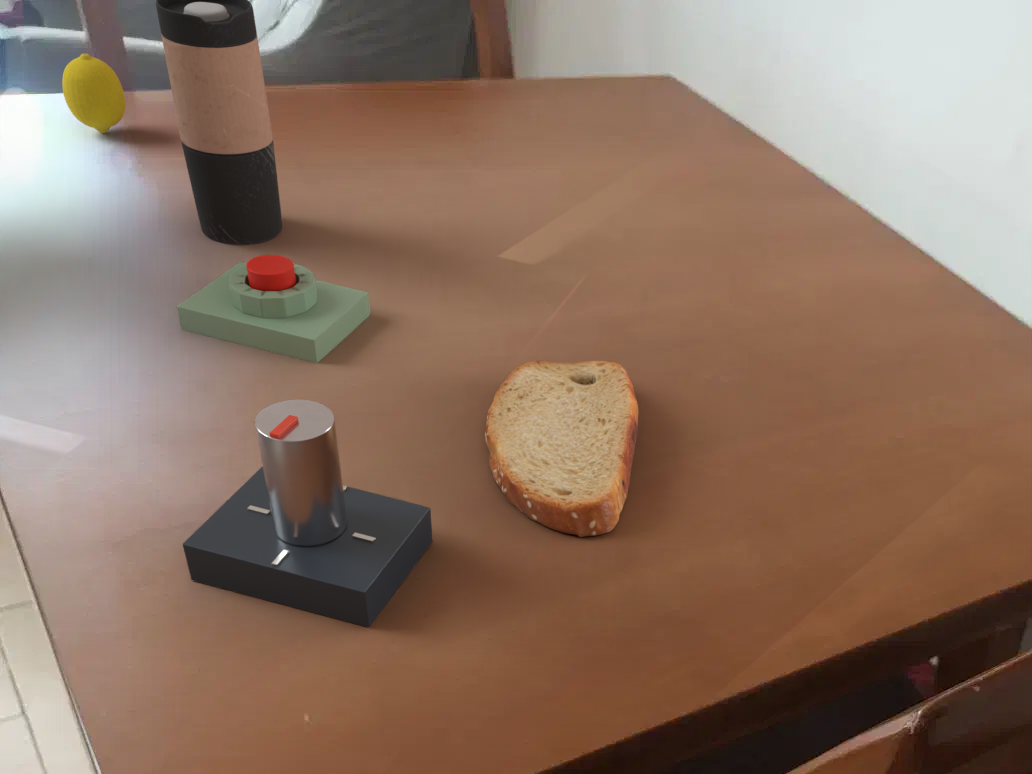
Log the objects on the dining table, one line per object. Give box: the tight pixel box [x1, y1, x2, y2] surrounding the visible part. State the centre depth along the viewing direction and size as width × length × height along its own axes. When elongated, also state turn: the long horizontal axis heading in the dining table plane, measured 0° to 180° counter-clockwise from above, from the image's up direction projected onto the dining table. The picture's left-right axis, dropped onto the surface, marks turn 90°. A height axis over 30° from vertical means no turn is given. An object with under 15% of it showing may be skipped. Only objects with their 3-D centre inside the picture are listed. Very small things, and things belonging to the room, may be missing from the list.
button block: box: [176, 261, 371, 364], centre depth 93 cm, size 12×9×4 cm
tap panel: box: [182, 465, 434, 628], centre depth 72 cm, size 12×9×3 cm
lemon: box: [61, 53, 126, 134], centre depth 116 cm, size 6×6×8 cm
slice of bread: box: [484, 359, 639, 538], centre depth 86 cm, size 18×18×4 cm
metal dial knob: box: [254, 399, 347, 546], centre depth 69 cm, size 4×4×8 cm
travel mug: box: [155, 0, 283, 246], centre depth 100 cm, size 8×8×20 cm
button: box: [246, 254, 296, 291], centre depth 92 cm, size 4×4×2 cm
